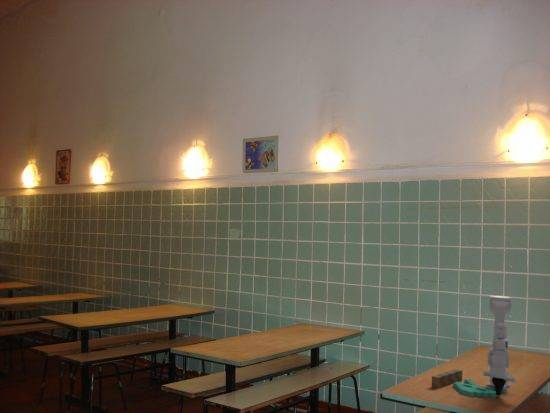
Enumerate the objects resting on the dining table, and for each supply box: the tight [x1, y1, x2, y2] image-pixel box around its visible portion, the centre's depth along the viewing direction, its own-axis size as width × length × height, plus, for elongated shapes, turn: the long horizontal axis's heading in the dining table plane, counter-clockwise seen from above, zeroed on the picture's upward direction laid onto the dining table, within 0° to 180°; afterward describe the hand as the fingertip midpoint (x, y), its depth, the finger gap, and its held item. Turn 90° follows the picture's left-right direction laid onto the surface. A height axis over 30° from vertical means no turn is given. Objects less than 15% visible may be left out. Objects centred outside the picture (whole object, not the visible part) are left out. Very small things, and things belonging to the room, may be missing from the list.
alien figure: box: [452, 378, 508, 399], centre depth 262 cm, size 20×2×20 cm
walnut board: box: [431, 368, 463, 389], centre depth 272 cm, size 24×3×5 cm, turn 133°
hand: (498, 394), depth 254 cm, fingers closed
